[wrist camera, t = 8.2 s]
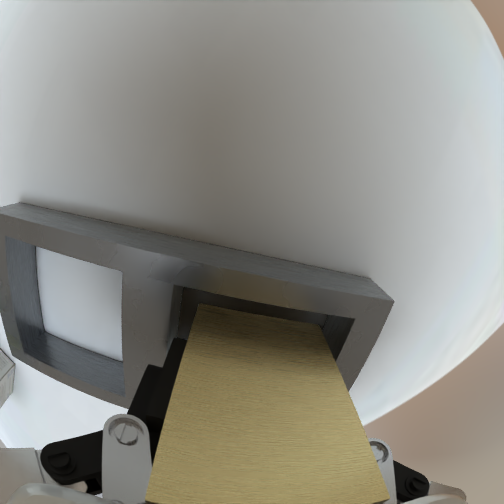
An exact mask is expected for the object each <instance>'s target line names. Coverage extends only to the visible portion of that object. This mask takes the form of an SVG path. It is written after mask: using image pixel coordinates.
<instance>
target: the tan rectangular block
mask: <svg viewBox="0 0 504 504" xmlns="http://www.w3.org/2000/svg"><path fill="white" fill-rule="evenodd" d="M389 499H390V496H389V493H388V490H387V488H386V485H385V482H384V479H383V477H382V474H381V472H380V469H379V466H378V464H377V461H376V459H375V456H374V453H373V451H372V448H371V446H370V443H369V441H368V438H367V436H366V433H365V431H364V428H363V426H362V423H361V421H360V419H359V416H358V414H357V411H356V409H355V407H354V404H353V402H352V399H351V397H350V395H349V392H348V390H347V388H346V385H345V383H344V381H343V378H342V376H341V374H340V371H339V369H338V367H337V364H336V362H335V360H334V358H333V355H332V353H331V351H330V349H329V346H328V344H327V342H326V340H325V337H324V335H323V333H322V331H321V328H320V326H319V325H317V324H310V323H304V322H297V321H291V320H285V319H279V318H273V317H268V316H262V315H257V314H251V313H246V312H241V311H236V310H231V309H226V308H221V307H216V306H212V305H207V304H202V303H199V305H198V308H197V311H196V315H195V318H194V321H193V324H192V327H191V331H190V334H189V337H188V340H187V344H186V347H185V350H184V353H183V357H182V360H181V363H180V367H179V370H178V374H177V377H176V381H175V384H174V388H173V391H172V395H171V398H170V402H169V405H168V409H167V413H166V416H165V420H164V424H163V427H162V431H161V435H160V439H159V443H158V447H157V451H156V455H155V459H154V463H153V467H152V471H151V475H150V479H149V483H148V488H147V492H146V496H145V503H146V504H383V503H384V502H386V501H387V500H389Z"/></svg>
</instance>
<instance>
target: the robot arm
mask: <svg viewBox="0 0 504 504" xmlns="http://www.w3.org/2000/svg"><path fill="white" fill-rule="evenodd" d="M186 344H187V340H183V339H179V338H175V337H174V338H173V341H172V343H171V346H170V348H169V351H168V354H167V356H166V359H165V362H164V364H163V367H158V366H155V365H151V364H148V366H147V367H146V370H145V372H144V374H143V377H142V379H141V381H140V384H139V386H138V388H137V391H136V393H135V395H134V398H133V400H132V403H131V405H130V407H129V410H128V412H127V414H118V415H114V416H112V417H110V418H109V419H108V420H107V421H106V422H105V424H104V428H103V430H101V431H98V432H94V433H91V434H87V435H83V436H79V437H75V438H71V439H67V440H63V441H58V442H53V443H50V444H48V445H46V446H45V447H44V448H43V449H42V450H35V449H34V448H0V504H146V503H145V496H146V492H147V488H148V483H149V479H150V475H151V471H152V467H153V463H154V459H155V455H156V451H157V447H158V443H159V439H160V435H161V431H162V427H163V424H164V420H165V416H166V413H167V409H168V405H169V402H170V398H171V395H172V391H173V388H174V384H175V381H176V377H177V374H178V370H179V367H180V363H181V360H182V357H183V353H184V350H185V347H186ZM368 441H369V443H370V446H371V448H372V451H373V453H374V456H375V459H376V461H377V464H378V466H379V469H380V472H381V474H382V477H383V479H384V482H385V485H386V488H387V490H388V493H389V496H390V499H389V500H387V501H386V502H384V503H383V504H468V503H467V502H466V495H465V493H464V492H463V491H462V490H461V489H458V488H454V487H450V486H446V485H443V484H439V483H436V482H433V481H431V482H430V483H429V482H428V480H427V478H426V477H425V476H424V475H422V474H421V473H419V472H416V471H414V470H412V469H410V468H408V467H406V466H404V465H402V464H400V463H398V462H396V461H394V460H393V458H392V452H391V449H390V447H389V446H388V445H387V444H386V443H385V442H383V441H382V440H380V439H375V438H370V439H368ZM100 493H102V496H103V498H100V497H97V496H94V495H97V494H100Z"/></svg>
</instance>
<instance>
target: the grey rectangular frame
mask: <svg viewBox="0 0 504 504" xmlns="http://www.w3.org/2000/svg"><path fill="white" fill-rule="evenodd" d="M35 246H38V247H41V248H44V249H47V250H50V251H53V252H57V253H60V254H63V255H66V256H70V257H73V258H77V259H80V260H83V261H87V262H90V263H94V264H97V265H101V266H105V267H108V268H112V269H116V270H119V271H123V280H122V354H123V362H120V361H117V360H114V359H111V358H108V357H105V356H102V355H99V354H97V353H94V352H91V351H89V350H86V349H83V348H81V347H78V346H76V345H73V344H71V343H69V342H66V341H64V340H62V339H59V338H57V337H55V336H53V335H50V334H48V333H46V332H44V327H43V321H42V315H41V309H40V302H39V294H38V284H37V273H36V257H35ZM183 286H184V287H188V288H193V289H197V290H201V291H206V292H211V293H215V294H220V295H225V296H229V297H234V298H239V299H244V300H249V301H254V302H260V303H265V304H270V305H276V306H281V307H287V308H292V309H298V310H304V311H310V312H316V313H322V314H328V318H327V320H326V323H325V325H324V328H323V330H322V333H323V335H324V337H325V340H326V342H327V344H328V346H329V349H330V351H331V353H332V355H333V358H334V360H335V362H336V364H337V367H338V369H339V371H340V374H341V376H342V378H343V381H344V383H345V385H346V388H347V390H348V392H349V390H350V388H351V387H352V385H353V383H354V381H355V380H356V378H357V376H358V375H359V373H360V371H361V369H362V367H363V366H364V364H365V362H366V360H367V358H368V356H369V354H370V352H371V350H372V348H373V346H374V345H375V343H376V340H377V338H378V336H379V334H380V332H381V330H382V328H383V326H384V324H385V322H386V319H387V317H388V315H389V313H390V310H391V308H392V306H393V303H394V300H393V299H391V298H390V297H389V296H388V295H387V294H386V293H385V292H384V291H383V290H382V289H381V288H380V287H379V286H378V285H377V284H376V283H375V282H374V281H372V280H371V279H370V278H365V277H361V276H356V275H351V274H347V273H342V272H337V271H333V270H328V269H324V268H319V267H314V266H310V265H305V264H300V263H296V262H291V261H287V260H282V259H277V258H273V257H268V256H263V255H259V254H254V253H250V252H245V251H240V250H236V249H231V248H226V247H222V246H217V245H213V244H208V243H203V242H199V241H194V240H190V239H185V238H180V237H176V236H171V235H167V234H162V233H157V232H153V231H148V230H144V229H139V228H134V227H130V226H125V225H121V224H116V223H112V222H107V221H102V220H98V219H93V218H89V217H84V216H80V215H75V214H70V213H66V212H61V211H57V210H52V209H48V208H43V207H38V206H34V205H29V204H25V203H20V202H19V203H15V204H11V205H7V206H3V207H0V313H1V317H2V321H3V325H4V329H5V333H6V336H7V340H8V343H9V347H10V350H11V353H12V356H14V357H15V358H17V359H19V360H20V361H22V362H24V363H26V364H27V365H29V366H31V367H33V368H34V369H36V370H38V371H40V372H42V373H44V374H46V375H47V376H49V377H51V378H53V379H55V380H57V381H59V382H62V383H64V384H66V385H68V386H70V387H72V388H75V389H77V390H79V391H81V392H84V393H86V394H89V395H91V396H94V397H96V398H99V399H101V400H104V401H107V402H109V403H112V404H115V405H118V406H121V407H124V408H127V409H129V407H130V405H131V403H132V400H133V398H134V395H135V393H136V391H137V388H138V386H139V384H140V381H141V379H142V377H143V374H144V372H145V370H146V367H147V366H148V364H151V365H155V366H158V367H163V364H164V362H165V359H166V356H167V354H168V351H169V348H170V346H171V343H172V341H173V338H174V337H175V338H177V332H178V324H179V316H180V308H181V300H182V293H183Z"/></svg>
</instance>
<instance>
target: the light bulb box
mask: <svg viewBox="0 0 504 504" xmlns="http://www.w3.org/2000/svg"><path fill="white" fill-rule="evenodd" d="M14 369H15V364H14V363H13V362H12V361H11V360H10V359H9V358H8V357H7V356H6V355H5V354H4V353H3V352H2V351H1V350H0V408H1V407H2V405H3V404H4V403H5V401H6V400H7V399H8V397H9V396H10V395H11V393H12V392H13V379H14Z"/></svg>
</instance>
